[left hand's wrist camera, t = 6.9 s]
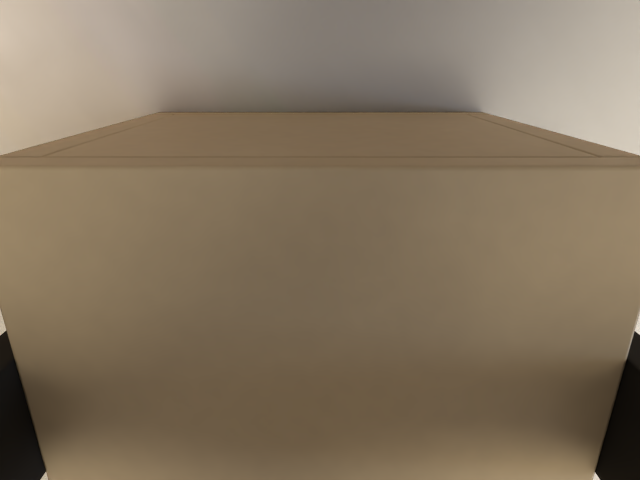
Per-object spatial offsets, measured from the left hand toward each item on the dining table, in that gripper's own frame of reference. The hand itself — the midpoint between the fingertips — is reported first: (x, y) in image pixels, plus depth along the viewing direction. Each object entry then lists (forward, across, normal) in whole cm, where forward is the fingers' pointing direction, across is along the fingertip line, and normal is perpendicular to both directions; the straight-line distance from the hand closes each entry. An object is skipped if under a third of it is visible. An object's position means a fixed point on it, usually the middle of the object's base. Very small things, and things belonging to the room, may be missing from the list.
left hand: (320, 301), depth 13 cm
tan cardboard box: (+4, 0, -4) cm, 6 cm away
